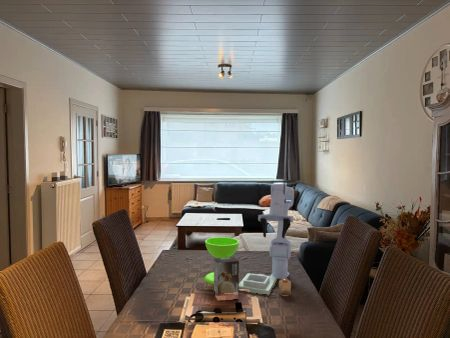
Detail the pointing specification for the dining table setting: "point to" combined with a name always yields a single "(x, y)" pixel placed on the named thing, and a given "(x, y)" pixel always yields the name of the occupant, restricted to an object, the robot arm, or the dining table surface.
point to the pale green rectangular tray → (258, 283)
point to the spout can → (284, 287)
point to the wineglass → (220, 250)
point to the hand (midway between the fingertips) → (273, 236)
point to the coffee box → (226, 275)
